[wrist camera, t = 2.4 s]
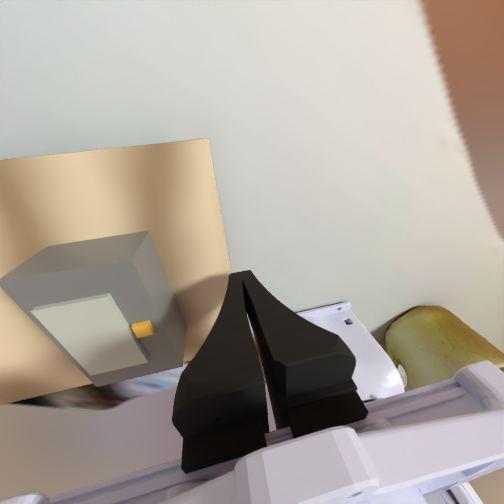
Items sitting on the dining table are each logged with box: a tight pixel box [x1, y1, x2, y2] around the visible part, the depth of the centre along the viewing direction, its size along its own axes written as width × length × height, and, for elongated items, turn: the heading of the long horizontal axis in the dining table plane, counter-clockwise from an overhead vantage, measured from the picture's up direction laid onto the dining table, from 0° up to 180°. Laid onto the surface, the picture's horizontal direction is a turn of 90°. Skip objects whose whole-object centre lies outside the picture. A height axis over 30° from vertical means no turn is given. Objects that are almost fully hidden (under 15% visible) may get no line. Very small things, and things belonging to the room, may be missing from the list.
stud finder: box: [0, 231, 187, 387], centre depth 11 cm, size 5×8×3 cm, turn 5°
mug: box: [385, 306, 504, 392], centre depth 25 cm, size 12×10×10 cm
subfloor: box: [0, 139, 232, 405], centre depth 14 cm, size 20×18×4 cm
